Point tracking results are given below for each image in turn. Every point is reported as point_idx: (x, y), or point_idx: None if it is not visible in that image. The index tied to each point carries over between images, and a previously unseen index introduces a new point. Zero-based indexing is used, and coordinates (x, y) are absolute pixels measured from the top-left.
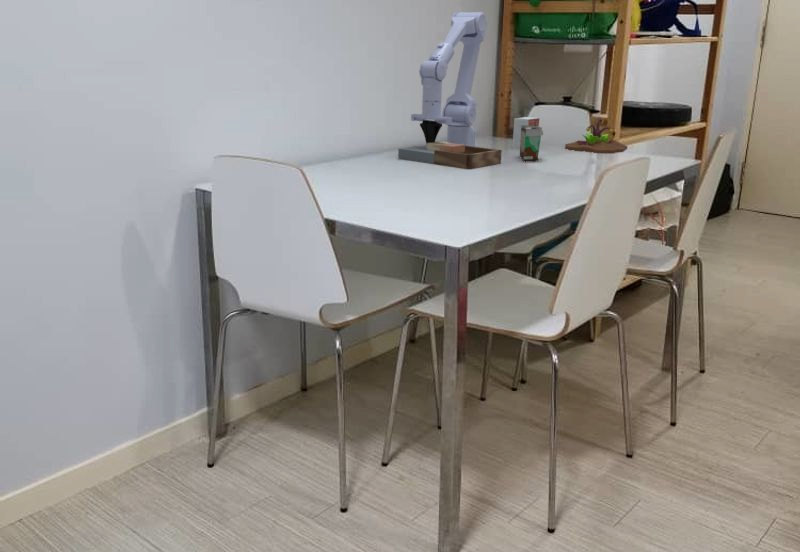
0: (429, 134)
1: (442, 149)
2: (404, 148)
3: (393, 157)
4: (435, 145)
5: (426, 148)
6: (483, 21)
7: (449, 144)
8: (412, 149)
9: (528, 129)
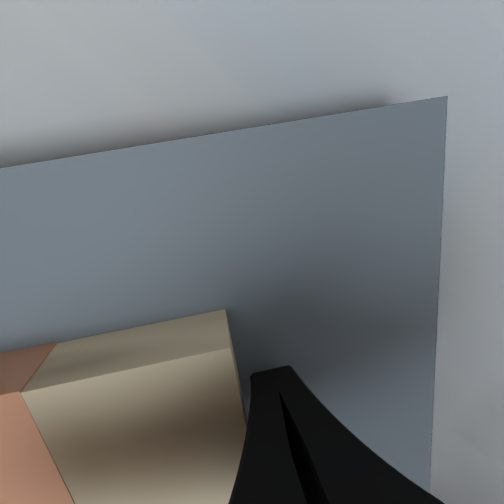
0: (258, 478)
1: (3, 366)
2: (414, 167)
3: (450, 116)
4: (99, 367)
5: (288, 351)
6: None
7: (1, 490)
8: (313, 191)
9: None
